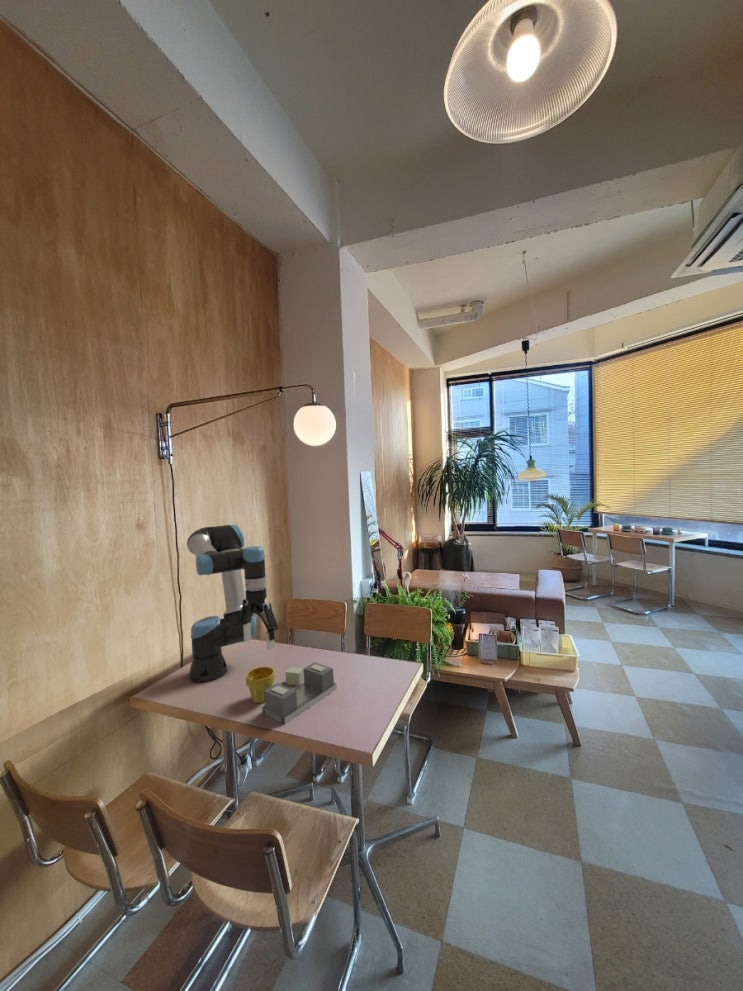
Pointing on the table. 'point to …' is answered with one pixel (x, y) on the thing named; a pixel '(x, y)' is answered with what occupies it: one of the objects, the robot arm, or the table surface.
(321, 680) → the block
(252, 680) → the plant pot
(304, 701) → the rail
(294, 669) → the block
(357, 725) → the table surface
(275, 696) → the module near
